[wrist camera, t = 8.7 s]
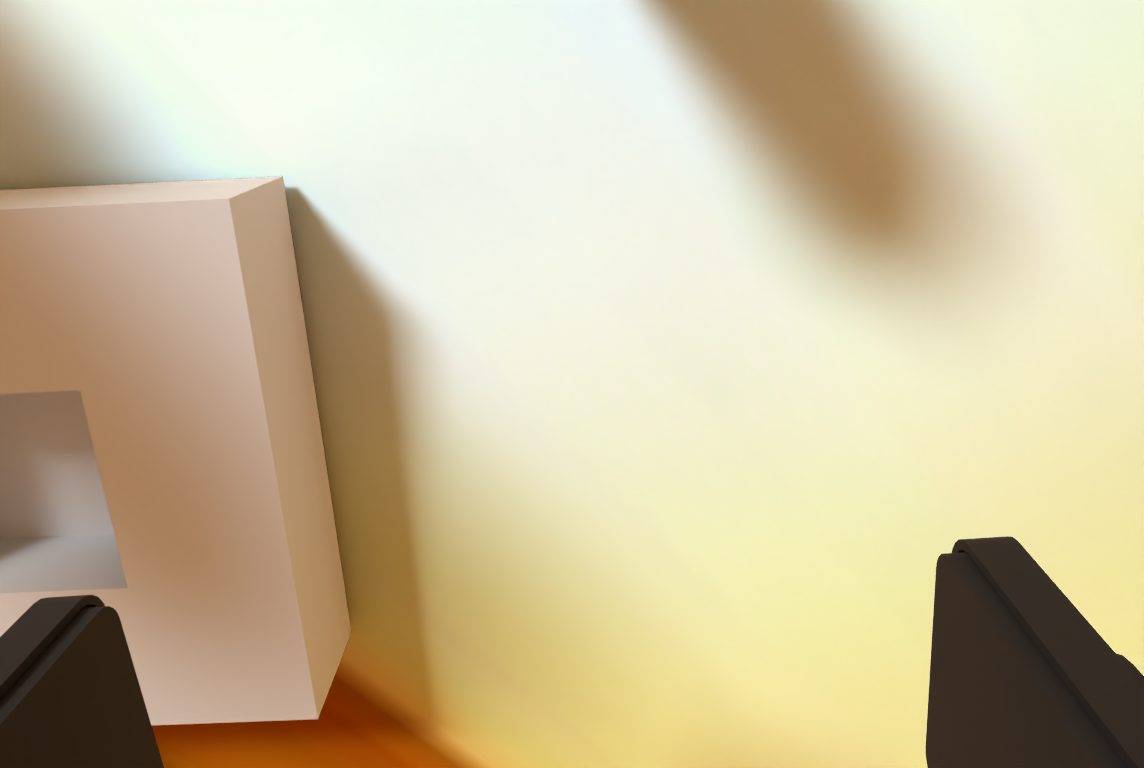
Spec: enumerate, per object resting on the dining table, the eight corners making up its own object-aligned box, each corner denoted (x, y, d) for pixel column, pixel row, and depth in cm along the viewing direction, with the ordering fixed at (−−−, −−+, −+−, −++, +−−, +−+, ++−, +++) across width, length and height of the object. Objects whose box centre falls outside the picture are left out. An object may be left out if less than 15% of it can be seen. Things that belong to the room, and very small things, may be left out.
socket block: (282, 176, 24) (228, 198, 20) (351, 632, 29) (317, 719, 25) (-245, 201, 24) (-395, 228, 20) (-91, 649, 29) (-191, 738, 25)
